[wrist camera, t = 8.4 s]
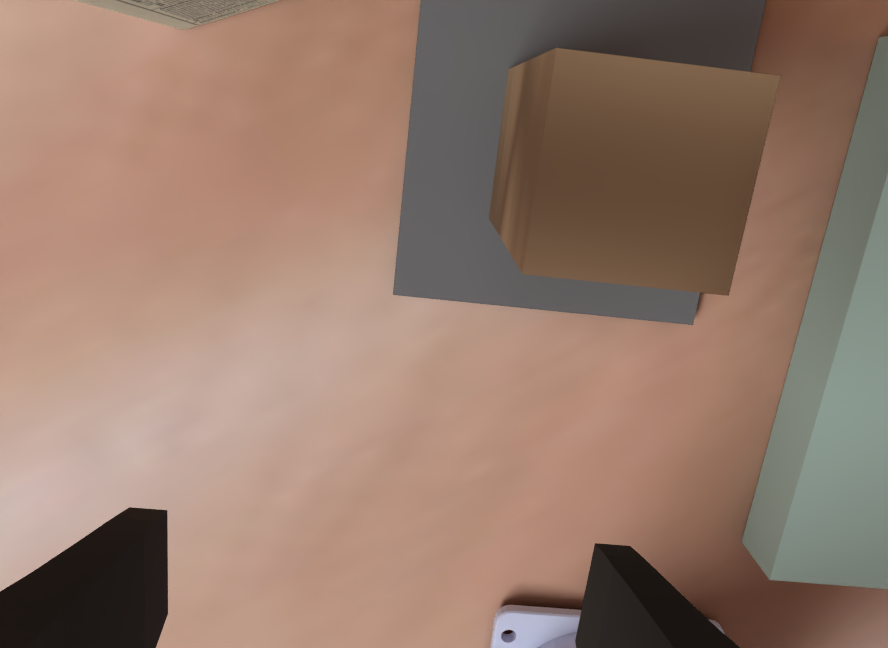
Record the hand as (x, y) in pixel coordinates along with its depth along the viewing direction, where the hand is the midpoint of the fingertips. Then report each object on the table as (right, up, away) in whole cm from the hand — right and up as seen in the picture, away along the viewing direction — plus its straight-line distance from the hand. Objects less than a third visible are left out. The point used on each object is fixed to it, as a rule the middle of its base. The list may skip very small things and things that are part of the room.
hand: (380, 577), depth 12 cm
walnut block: (+5, +9, +8) cm, 13 cm away
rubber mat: (+5, +9, +8) cm, 13 cm away
